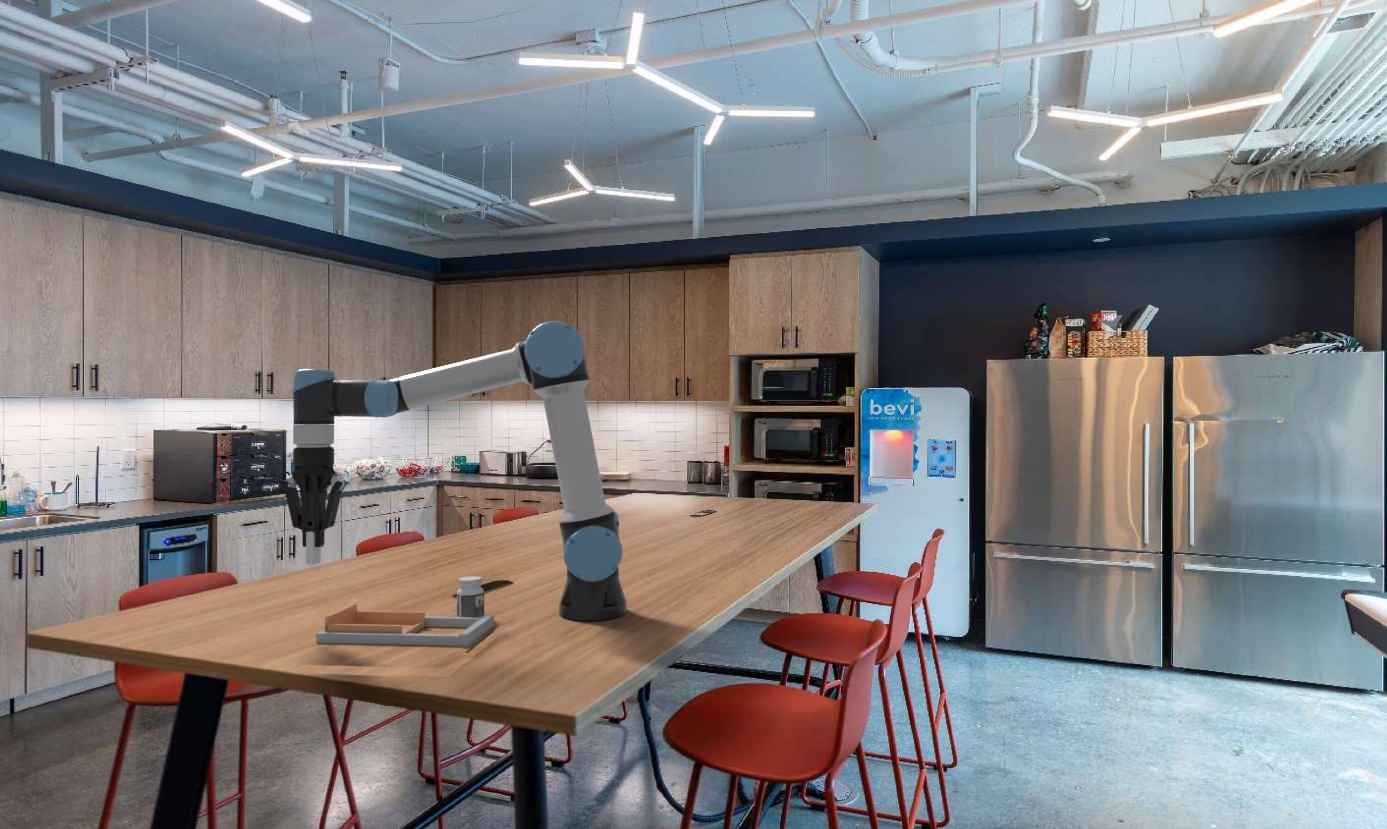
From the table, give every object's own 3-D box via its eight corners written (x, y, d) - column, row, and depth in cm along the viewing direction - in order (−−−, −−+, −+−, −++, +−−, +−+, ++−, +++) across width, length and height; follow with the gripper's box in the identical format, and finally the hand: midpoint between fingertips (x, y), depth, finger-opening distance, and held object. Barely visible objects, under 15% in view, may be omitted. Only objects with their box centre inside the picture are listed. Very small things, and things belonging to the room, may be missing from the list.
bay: (493, 631, 169) (493, 614, 169) (467, 652, 154) (467, 634, 154) (354, 629, 171) (354, 612, 171) (315, 649, 156) (315, 631, 156)
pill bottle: (490, 622, 176) (489, 576, 176) (472, 629, 171) (472, 581, 171) (469, 620, 179) (468, 574, 179) (451, 626, 173) (450, 579, 173)
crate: (425, 626, 168) (425, 604, 168) (400, 641, 157) (400, 618, 157) (354, 625, 169) (354, 603, 169) (325, 639, 158) (325, 616, 158)
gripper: (354, 445, 168) (353, 560, 167) (293, 445, 169) (293, 559, 169) (335, 446, 160) (334, 567, 160) (271, 446, 161) (271, 566, 161)
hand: (313, 563), depth 164 cm, fingers closed
